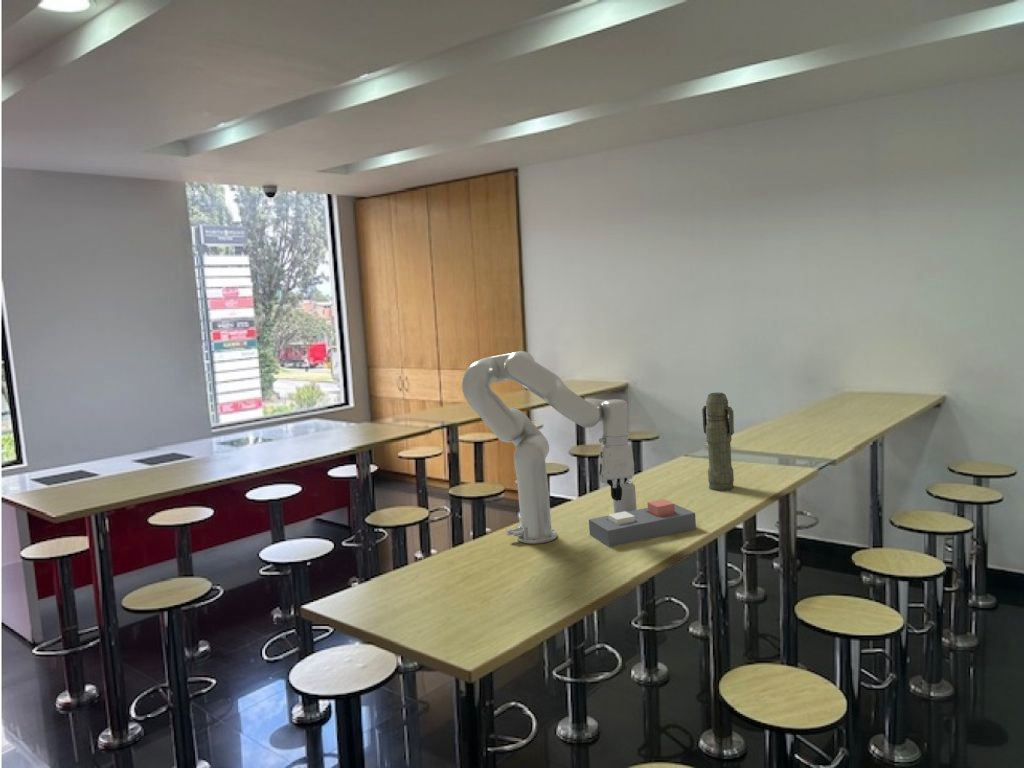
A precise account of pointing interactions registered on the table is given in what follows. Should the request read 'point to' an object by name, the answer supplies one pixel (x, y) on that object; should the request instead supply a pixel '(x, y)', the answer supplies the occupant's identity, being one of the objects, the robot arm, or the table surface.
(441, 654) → the table surface
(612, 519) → the white key
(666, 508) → the red key
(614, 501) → the can
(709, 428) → the thermos
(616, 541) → the key panel
